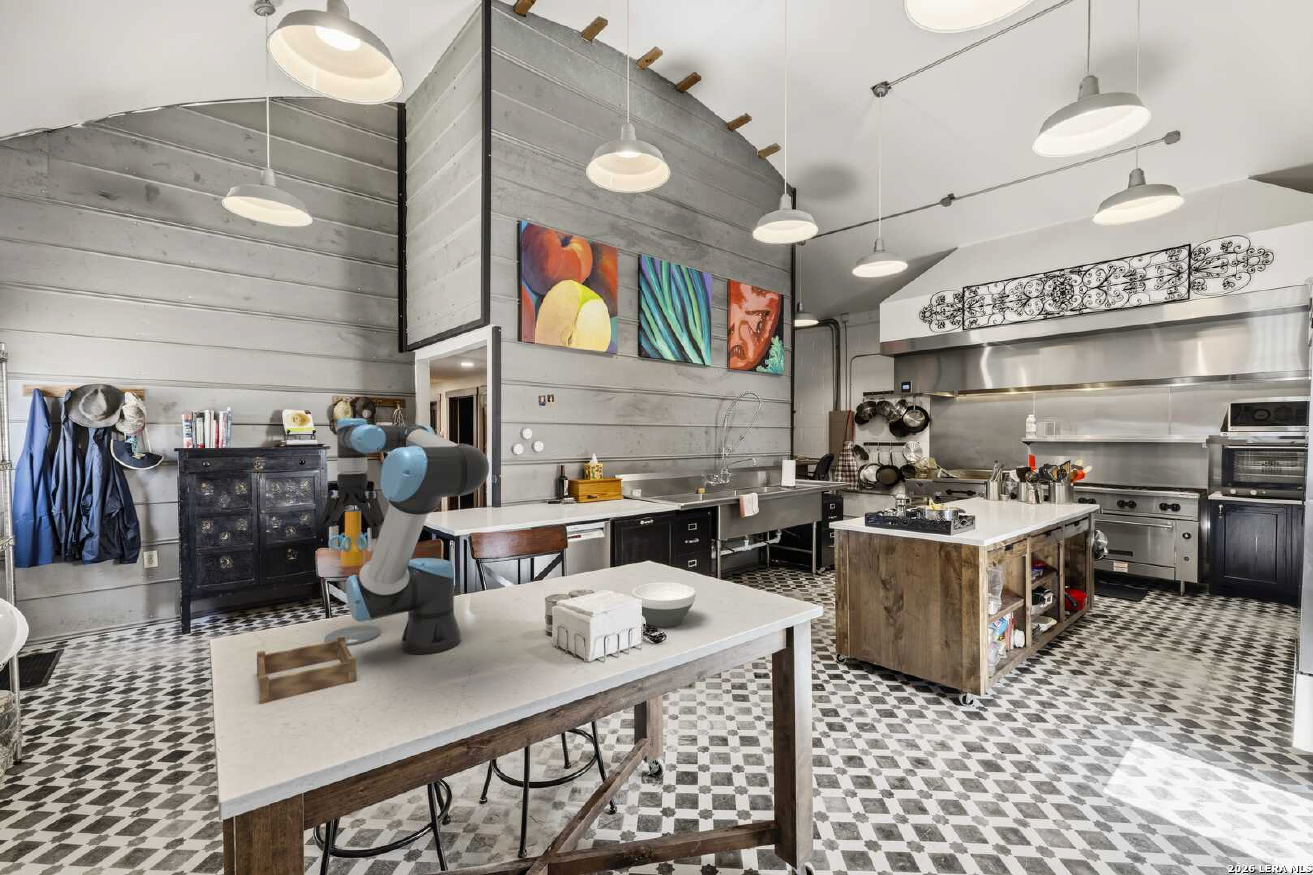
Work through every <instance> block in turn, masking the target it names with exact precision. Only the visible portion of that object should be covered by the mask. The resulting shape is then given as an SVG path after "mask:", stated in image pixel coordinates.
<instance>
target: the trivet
mask: <svg viewBox="0 0 1313 875" xmlns="http://www.w3.org/2000/svg"><path fill="white" fill-rule="evenodd" d="M343 635H344V636H345V644H346V645H347V647H348V646H355V645H356V646H357V645H360V644H364V643H367V642H371V641H372V640H375V639H377V638H378V637H379V636H380V635H381V628H380V627H378V626H374V625H355V626H349V627H344V628H340V629H336V630H334V631H332V632H330V633H328V634H326V635H325V637H324V643H326V642H331V641H336V640H337V637H338V636H343Z"/></svg>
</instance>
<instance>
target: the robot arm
mask: <svg viewBox="0 0 1313 875" xmlns="http://www.w3.org/2000/svg"><path fill="white" fill-rule="evenodd" d="M336 428H337V429H336V434H337V435H336V436H337V437H336V438H337V439H336V440H337V441H336V442H337V443H336V445H337V448H336V449H337V453H336V454H337V458H336V460H337V462H336V468H337V469H336V471H337V473H338V474H337V475H336V476H337V480H336V481H337V483H336V484H337V487H338V490H337V489H334V490H328V492H327V500H326V503H325V506H324V509H323V512H322V515H321V518H320V520H319V521H320V522H319V524H320V525H324V526H326V538H328V541H329V540H330V538H331V537H333V536H336V535H339V525H338V521H339V519H340V518H341V516H342V514H343V513H344V511H345V510H346V508H347V507H348V506H353V507H357V509H359V511H361V515H363V517H364V518H365V520H366V522H367V524H368V525H369V527H368V528H367V532H368V535H367V544H368V547H367V552H372V555H371V559H370V560H368V561H367V562H365V563H364V564H362V567H361V568H360V569H359V573H358V574H353V575H350V576H348V577H347V579H346V581H345V593H346V600H347V601H346V602H347V606H348V608H349V609H348V610H349V612H350V615H351V617H352V619H353V620H355V621H356V622H358V623H359V622H360V623H361V622H366V621H373V620H377V619H382V618H386V617H390V616H395V615H399V614H403V613H407V612H408V613H407V622H406V624H405V627H404V630H403V633H402V636H401V642H400V648H401V650H402V652H405V653H407V654H413V655H428V654H435V653H440V652H444V651H447V650H449V649H452V648H454V647H456V646H457V645H459V644H460V643H461V638H462V637H461V634H462V633H461V630H460V626H459V625H458V624H459V623H458V620H457V618H456V615H455V609H454V607H455V606H454V605H455V604H454V603H455V602H454V601H455V572H454V570H455V569H454V564H453V563H452V562H451V561H450V560H446V559H442V558H434V557H433V558H431V557H423V558H422V557H421V558H420V557H419V558H413V559H412V557H413V554H414V551H415V549H416V546H417V543H418V541H419V539H420V535H421V533H422V530H423V528H424V525H425V522H426V520H427V518H428V515H429V514H431V513H434V512H435V511H436V510H437V509H438V507H439V505H440V503H441V500H442V499H443V498H450V497H451V498H452V497H458V496H459V497H461V496H466V495H469V494H471V493H473V492H475V491H477V490H478V489H479V488H481V487H482V486H483V484H485V481H487V478H488V476H489V472H490V462H489V460H488V456H487V455H486V454H485V453H484V452H483V451H482V450H481V449H479V448H478V447H476V446H474V445H470V444H468V443H459V444H458V443H455V442H454V441H451V440H449V439H447V438H444V437H442V436H440V435H437V434H436V432H435V431H434V428H433V427H431V426H430V425H421V424H419V425H418V424H416V425H392V424H390V425H387V424H386V425H383V424H382V425H381V424H377V425H376V424H368V421H367V419H365V418H354V417H353V418H352V417H351V418H339V419H338V421H337V427H336ZM374 453H388V454H387V456H386V457H385V459H384V461H383V463H382V466H381V470H380V474H381V476H380V480H379V481H380V489H381V492H382V495H383V496H384V498H385V499H386V500H387V502H388V508H387V510H386V514H385V517H384V514H383V510H382V508H381V505H380V501H379V499H378V498H379V497H378V496H379V495H378V493H379V492H378V491H377V490H372V491H368V490H367V486H368V474H367V473H366V472H367V471H368V454H374ZM338 498H339V500H338ZM380 527H381V528H380ZM379 528H380V532H379ZM376 538H377V540H376ZM331 544H332V546H333V547H335V548H338V547H339V538H335V539H333V541H332V543H331ZM328 550H329V551H333V550H332V549H330V547H329V546H328Z"/></svg>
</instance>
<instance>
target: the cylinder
mask: <svg viewBox="0 0 1313 875" xmlns="http://www.w3.org/2000/svg"><path fill="white" fill-rule="evenodd" d="M367 536H368V531H367V532H364V533H363V532H362V512H361V510H347V511H345V512H344V532H342V533H341V534H340V535H339V534H338V535H336V536H333V537H331V538H330V540H329V539H328V543H327V545H328V548H329V547H330V549H332V550H331V551H340V550H341V551H340V565H341V566H342V567H356V566H357V567H358V566H361V565H364V564H365V563H366V549H367V548H368V539H367V538H366V537H367ZM335 538H338V544H339V545H340V546H338V548H335V547H333V546H332V544H331V543H332V541H333V539H335ZM377 540H378V538H376V541H377Z"/></svg>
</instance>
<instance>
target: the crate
mask: <svg viewBox="0 0 1313 875" xmlns="http://www.w3.org/2000/svg"><path fill="white" fill-rule="evenodd" d="M335 660H340V663H335V664H331V665H327V666H322V667H318V668H313V669H307V670H304V671H299V672H294V673H290V674H286V675H285V674H284V675H280V676H276V677H272V678H271V677H270V676H269V674H274V673H278V672H279V673H280V672H283V671H287V670H292V669H293V670H294V669H297V668H301V667H307V666H311V665H316V664H317V665H318V664H320V663H326V662H330V661H335ZM256 677H257V679H258V687H259V688H258V690H259V692H258V694H259V695H258V696H259V697H258V698H259V701H258V702H259V705H261V704H264V703H269V702H272V701H277V700H281V699H285V698H289V697H292V696H294V697H295V696H297V695H302V694H306V693H310V692H314V691H318V690H319V691H320V690H323V689H326V688H331V687H334V686H335V687H336V686H339V685H344V684H349V683H354V682H357V657H356V655H352V653H351V651H350V649H349V648H348V646H347V645H346V644H345V636H344V635H343V636H338V637H337V640H336V641H331V642H326V643H325V642H322V643H318V644H312V645H305V646H302V647H295V648H292V649H286V650H281V651H275V652H269V653H266V650H260V651H257V652H256Z"/></svg>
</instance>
